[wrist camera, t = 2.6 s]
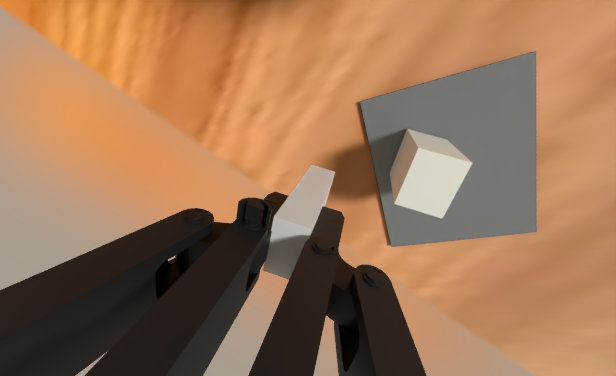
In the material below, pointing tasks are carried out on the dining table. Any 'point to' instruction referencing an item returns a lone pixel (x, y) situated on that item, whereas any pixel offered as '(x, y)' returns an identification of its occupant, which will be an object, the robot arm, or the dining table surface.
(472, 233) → the mat
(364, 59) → the dining table surface
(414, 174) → the white block
